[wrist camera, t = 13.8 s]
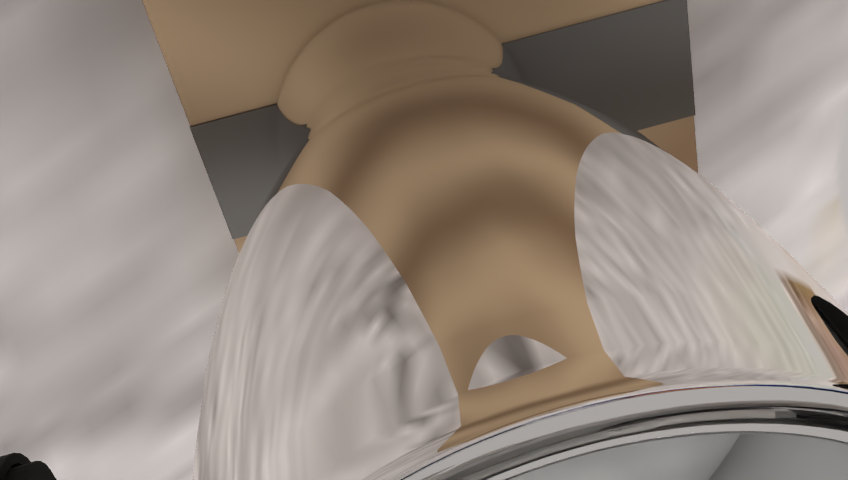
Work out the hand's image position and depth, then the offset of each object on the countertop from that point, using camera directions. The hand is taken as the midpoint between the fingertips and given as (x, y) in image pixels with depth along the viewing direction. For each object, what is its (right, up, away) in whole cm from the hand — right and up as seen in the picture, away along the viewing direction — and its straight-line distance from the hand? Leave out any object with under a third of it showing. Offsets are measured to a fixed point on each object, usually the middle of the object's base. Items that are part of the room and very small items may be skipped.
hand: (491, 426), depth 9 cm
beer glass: (-1, +5, +10) cm, 12 cm away
